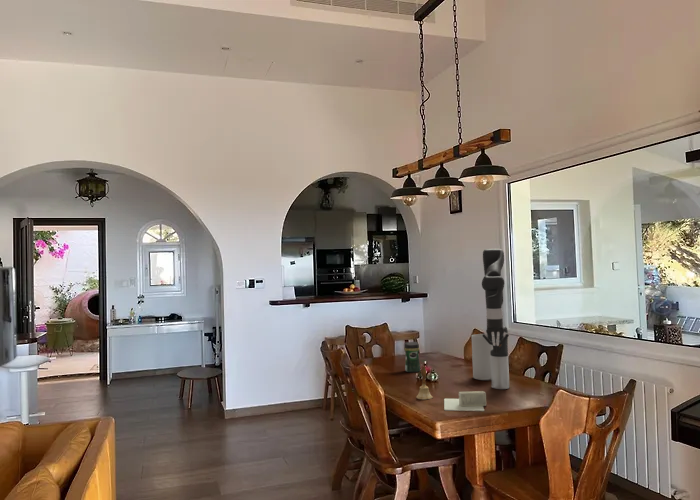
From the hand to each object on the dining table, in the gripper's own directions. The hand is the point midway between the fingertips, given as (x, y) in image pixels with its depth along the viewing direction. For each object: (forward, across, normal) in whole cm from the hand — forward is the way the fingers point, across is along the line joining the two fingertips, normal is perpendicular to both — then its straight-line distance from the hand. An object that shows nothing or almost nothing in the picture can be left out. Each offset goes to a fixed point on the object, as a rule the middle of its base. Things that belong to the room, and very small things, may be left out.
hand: (496, 353), depth 252 cm
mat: (+24, +17, +7) cm, 30 cm away
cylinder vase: (+25, +4, -54) cm, 59 cm away
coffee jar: (+26, +47, -72) cm, 90 cm away
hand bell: (+24, +36, -6) cm, 44 cm away
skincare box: (+20, +6, +7) cm, 22 cm away
